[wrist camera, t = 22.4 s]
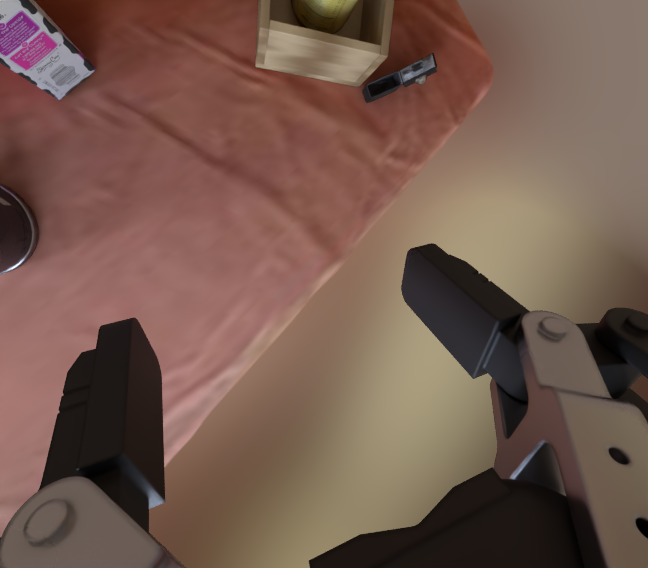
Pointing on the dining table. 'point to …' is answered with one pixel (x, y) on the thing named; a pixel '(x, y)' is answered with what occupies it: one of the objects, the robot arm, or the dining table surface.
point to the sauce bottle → (323, 14)
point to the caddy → (324, 42)
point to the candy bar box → (40, 49)
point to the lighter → (401, 78)
